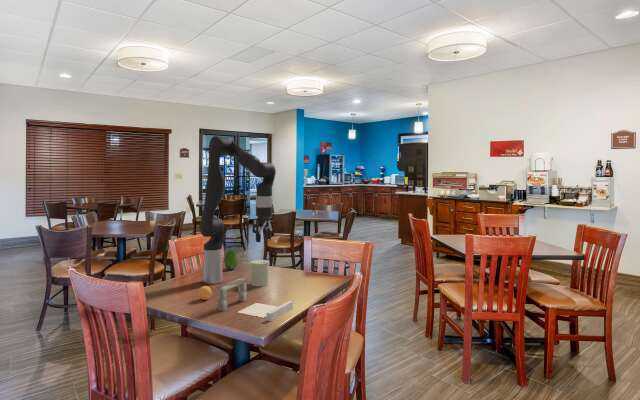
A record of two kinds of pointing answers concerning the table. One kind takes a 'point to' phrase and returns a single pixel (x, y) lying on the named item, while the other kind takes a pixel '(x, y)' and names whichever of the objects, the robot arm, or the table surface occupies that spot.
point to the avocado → (231, 259)
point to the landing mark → (257, 310)
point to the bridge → (223, 288)
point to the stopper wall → (279, 310)
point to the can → (260, 273)
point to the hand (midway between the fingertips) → (263, 240)
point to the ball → (204, 292)
